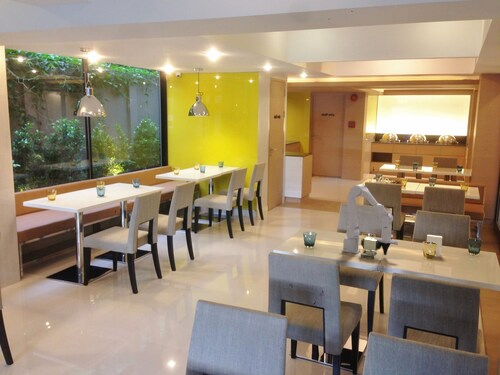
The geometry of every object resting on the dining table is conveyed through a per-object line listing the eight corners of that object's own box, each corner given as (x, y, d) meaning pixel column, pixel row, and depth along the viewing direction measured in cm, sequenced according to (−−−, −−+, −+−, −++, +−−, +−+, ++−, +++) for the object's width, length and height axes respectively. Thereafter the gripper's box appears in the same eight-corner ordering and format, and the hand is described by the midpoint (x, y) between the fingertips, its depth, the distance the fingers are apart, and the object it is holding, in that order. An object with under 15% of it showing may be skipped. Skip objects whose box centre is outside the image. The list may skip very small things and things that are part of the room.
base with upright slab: (441, 253, 290) (442, 235, 288) (440, 257, 282) (442, 238, 280) (426, 251, 294) (427, 233, 292) (425, 255, 286) (426, 236, 284)
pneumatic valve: (378, 258, 277) (379, 239, 275) (360, 254, 284) (361, 236, 282) (381, 256, 282) (382, 238, 280) (363, 252, 288) (364, 234, 287)
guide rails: (360, 256, 280) (360, 254, 280) (363, 252, 290) (363, 249, 290) (373, 258, 277) (373, 256, 277) (376, 253, 287) (376, 251, 287)
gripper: (373, 233, 276) (372, 254, 278) (397, 236, 270) (396, 257, 272) (375, 230, 283) (374, 251, 285) (399, 233, 277) (397, 254, 279)
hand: (385, 254), depth 279 cm, fingers closed
